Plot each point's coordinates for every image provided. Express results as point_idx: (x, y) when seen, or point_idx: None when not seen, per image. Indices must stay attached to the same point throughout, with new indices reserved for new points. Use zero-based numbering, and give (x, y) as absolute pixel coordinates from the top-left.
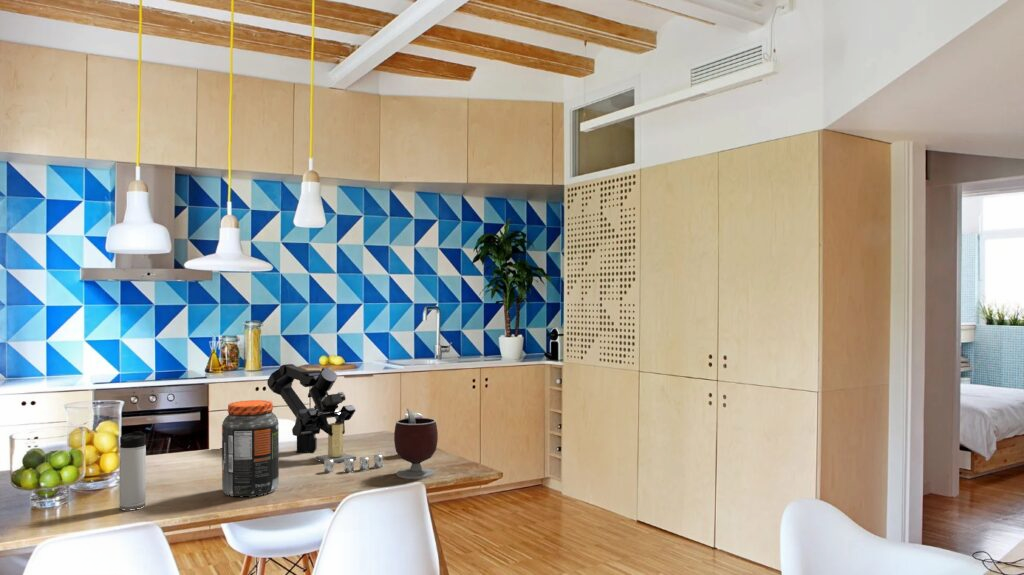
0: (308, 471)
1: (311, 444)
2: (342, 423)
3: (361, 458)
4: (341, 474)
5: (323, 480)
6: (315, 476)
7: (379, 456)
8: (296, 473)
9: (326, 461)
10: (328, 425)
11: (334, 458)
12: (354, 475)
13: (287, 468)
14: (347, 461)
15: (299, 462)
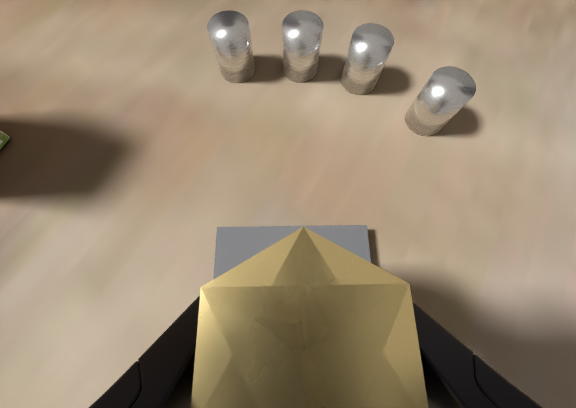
0: (492, 181)
1: None
2: (165, 370)
3: (320, 21)
4: (399, 65)
5: (482, 39)
6: (490, 97)
7: (235, 13)
8: (547, 183)
9: (468, 77)
10: (447, 359)
11: None
12: None
13: (567, 304)
14: (385, 33)
15: None
